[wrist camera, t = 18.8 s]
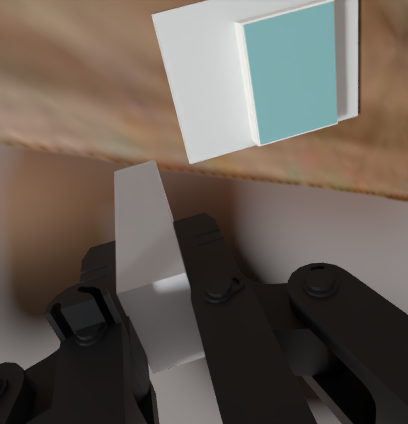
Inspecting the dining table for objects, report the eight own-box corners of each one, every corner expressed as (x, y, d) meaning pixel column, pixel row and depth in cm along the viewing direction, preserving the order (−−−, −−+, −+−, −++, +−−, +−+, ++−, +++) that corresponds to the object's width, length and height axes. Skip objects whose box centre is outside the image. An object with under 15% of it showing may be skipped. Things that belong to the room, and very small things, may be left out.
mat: (151, 14, 35) (152, 14, 34) (354, -38, 36) (358, -39, 35) (189, 162, 42) (190, 164, 42) (355, 114, 44) (357, 115, 43)
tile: (241, 23, 34) (335, -2, 34) (233, 21, 36) (322, -2, 36) (259, 147, 40) (338, 124, 41) (252, 139, 42) (327, 118, 43)
